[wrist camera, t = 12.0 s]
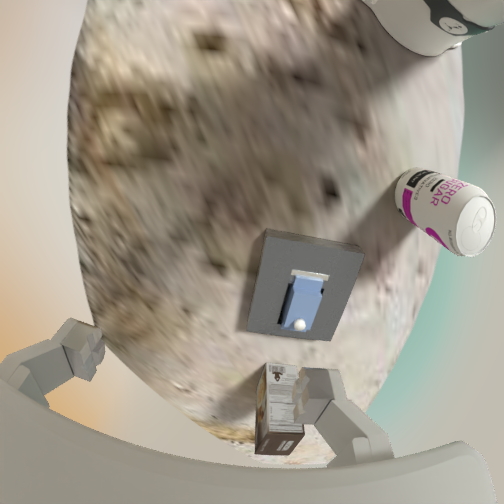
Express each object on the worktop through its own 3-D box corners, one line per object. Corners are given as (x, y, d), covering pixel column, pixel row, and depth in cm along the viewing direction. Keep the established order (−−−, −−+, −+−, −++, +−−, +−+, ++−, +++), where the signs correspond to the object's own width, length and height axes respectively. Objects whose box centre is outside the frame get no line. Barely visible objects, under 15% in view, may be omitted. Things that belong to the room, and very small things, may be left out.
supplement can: (422, 227, 37) (479, 270, 23) (384, 206, 36) (440, 246, 22) (442, 182, 34) (507, 210, 20) (405, 157, 33) (471, 175, 19)
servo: (293, 266, 40) (298, 286, 35) (319, 270, 40) (326, 290, 35) (279, 316, 44) (281, 339, 39) (303, 319, 44) (307, 342, 39)
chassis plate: (266, 228, 38) (266, 236, 35) (358, 246, 39) (365, 254, 36) (247, 319, 45) (246, 331, 42) (327, 329, 45) (330, 341, 42)
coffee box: (285, 392, 53) (289, 456, 38) (255, 389, 52) (253, 455, 38) (297, 364, 49) (305, 435, 34) (264, 361, 49) (265, 433, 34)
